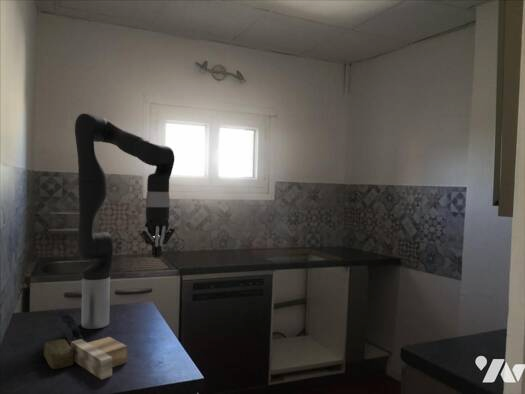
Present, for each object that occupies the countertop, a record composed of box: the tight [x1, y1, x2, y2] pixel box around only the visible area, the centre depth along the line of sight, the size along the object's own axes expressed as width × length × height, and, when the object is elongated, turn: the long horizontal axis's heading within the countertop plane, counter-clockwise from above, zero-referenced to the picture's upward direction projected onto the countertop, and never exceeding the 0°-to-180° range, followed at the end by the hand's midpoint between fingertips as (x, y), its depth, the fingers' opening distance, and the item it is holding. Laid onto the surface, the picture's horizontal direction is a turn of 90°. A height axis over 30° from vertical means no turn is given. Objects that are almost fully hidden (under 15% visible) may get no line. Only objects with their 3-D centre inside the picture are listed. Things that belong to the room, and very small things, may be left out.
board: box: [70, 339, 113, 380], centre depth 113 cm, size 18×3×5 cm, turn 49°
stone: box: [54, 309, 85, 345], centre depth 128 cm, size 14×6×10 cm, turn 66°
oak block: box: [88, 336, 128, 368], centre depth 117 cm, size 10×7×5 cm
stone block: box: [43, 338, 74, 370], centre depth 116 cm, size 6×12×5 cm, turn 39°
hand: (156, 257), depth 135 cm, fingers closed
